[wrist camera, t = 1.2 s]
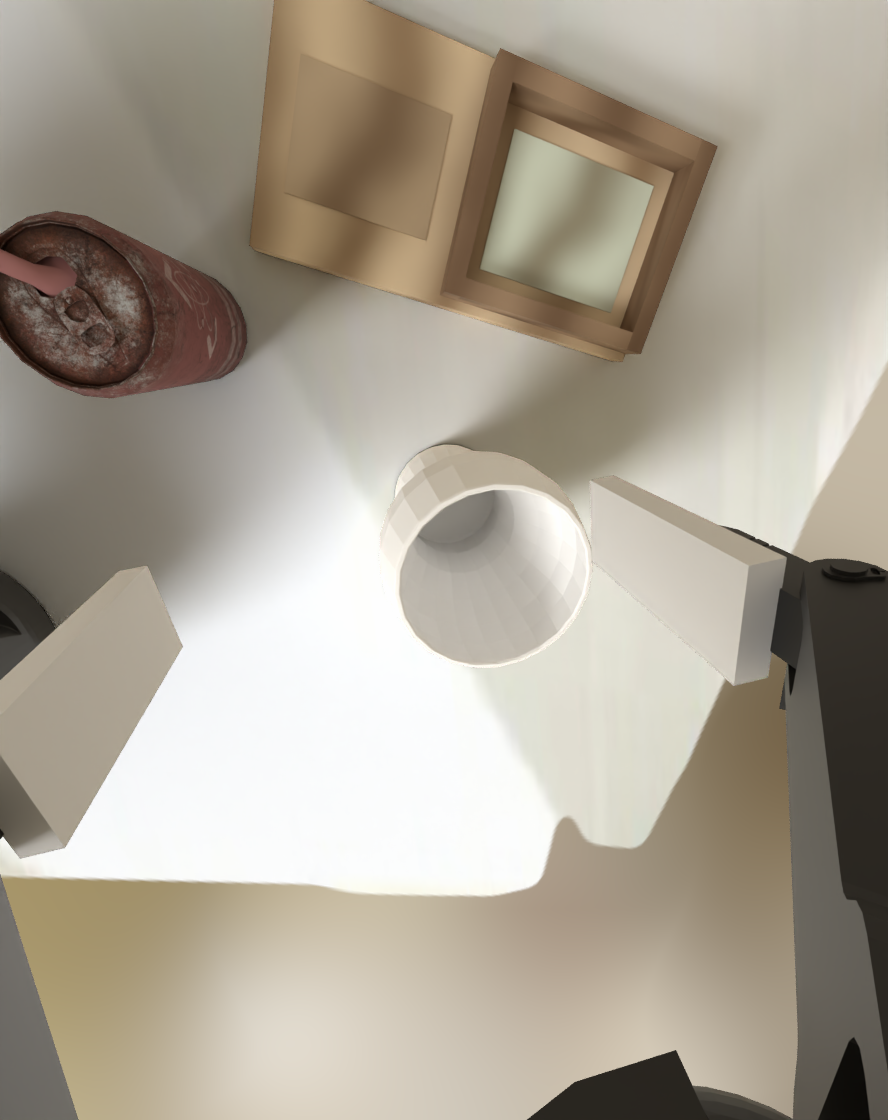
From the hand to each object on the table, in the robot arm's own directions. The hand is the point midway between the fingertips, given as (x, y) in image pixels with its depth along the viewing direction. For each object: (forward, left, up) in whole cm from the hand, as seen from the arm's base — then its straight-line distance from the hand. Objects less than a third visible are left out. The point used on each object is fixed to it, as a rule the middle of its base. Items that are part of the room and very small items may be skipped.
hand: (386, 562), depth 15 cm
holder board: (+3, +15, -21) cm, 26 cm away
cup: (+6, -3, -22) cm, 22 cm away
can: (-12, +4, -22) cm, 25 cm away
